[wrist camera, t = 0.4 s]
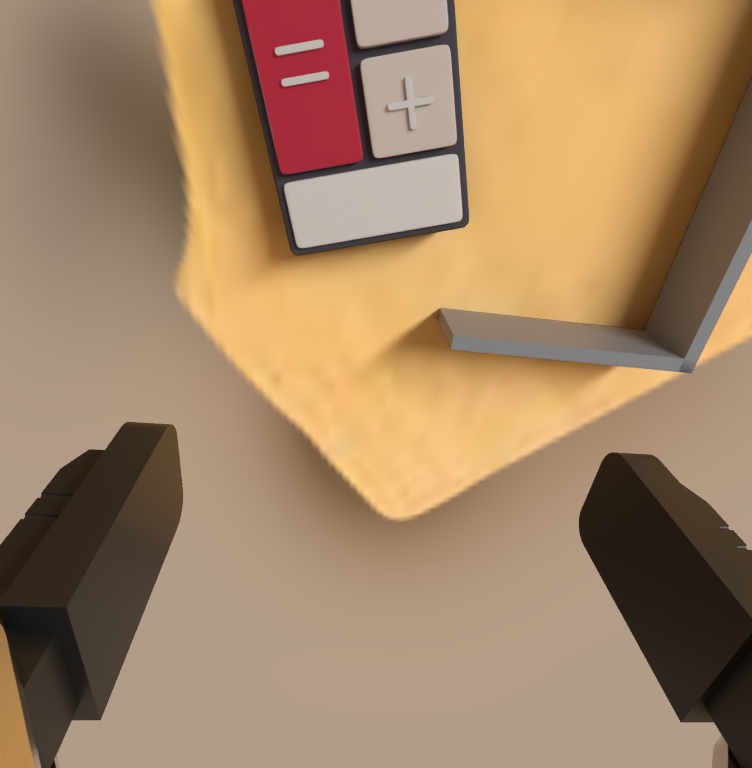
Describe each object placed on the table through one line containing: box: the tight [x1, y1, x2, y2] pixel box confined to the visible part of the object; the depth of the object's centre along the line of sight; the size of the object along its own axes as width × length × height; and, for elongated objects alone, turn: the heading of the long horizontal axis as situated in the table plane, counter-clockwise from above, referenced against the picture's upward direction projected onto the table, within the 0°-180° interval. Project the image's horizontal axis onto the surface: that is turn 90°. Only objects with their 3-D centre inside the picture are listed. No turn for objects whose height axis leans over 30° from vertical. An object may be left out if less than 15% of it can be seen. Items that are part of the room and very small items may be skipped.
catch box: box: [438, 79, 752, 373], centre depth 28 cm, size 26×17×5 cm, turn 172°
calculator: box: [233, 0, 469, 256], centre depth 27 cm, size 11×4×15 cm
